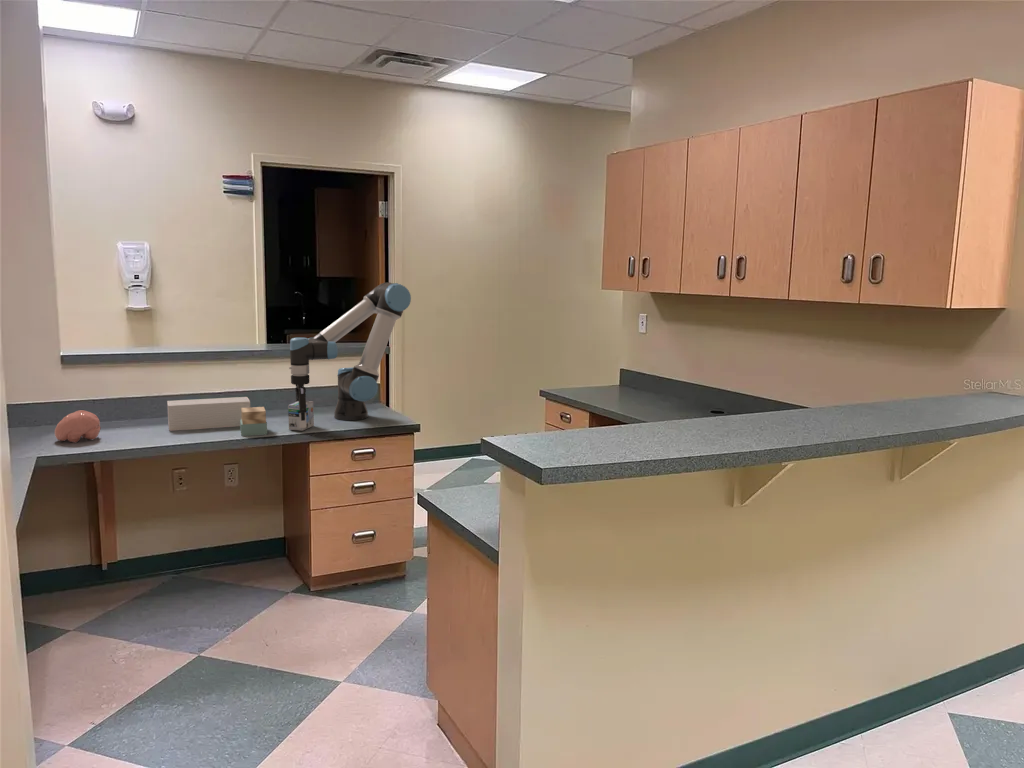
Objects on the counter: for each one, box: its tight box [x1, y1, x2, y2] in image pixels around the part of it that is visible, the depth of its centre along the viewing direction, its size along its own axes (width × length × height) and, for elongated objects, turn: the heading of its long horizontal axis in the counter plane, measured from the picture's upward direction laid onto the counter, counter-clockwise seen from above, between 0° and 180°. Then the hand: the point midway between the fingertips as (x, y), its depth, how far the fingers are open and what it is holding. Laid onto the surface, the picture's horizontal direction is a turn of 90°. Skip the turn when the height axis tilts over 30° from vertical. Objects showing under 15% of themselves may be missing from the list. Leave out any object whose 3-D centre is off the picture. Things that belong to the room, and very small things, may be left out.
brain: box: [54, 409, 101, 443], centre depth 284 cm, size 16×13×12 cm
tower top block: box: [241, 406, 267, 424], centre depth 304 cm, size 9×9×5 cm
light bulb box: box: [287, 400, 315, 432], centre depth 313 cm, size 11×7×11 cm, turn 168°
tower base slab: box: [239, 419, 268, 437], centre depth 305 cm, size 10×10×5 cm
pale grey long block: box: [166, 396, 251, 432], centre depth 314 cm, size 32×11×11 cm, turn 116°
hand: (301, 424), depth 314 cm, fingers closed on light bulb box, 12 cm apart
